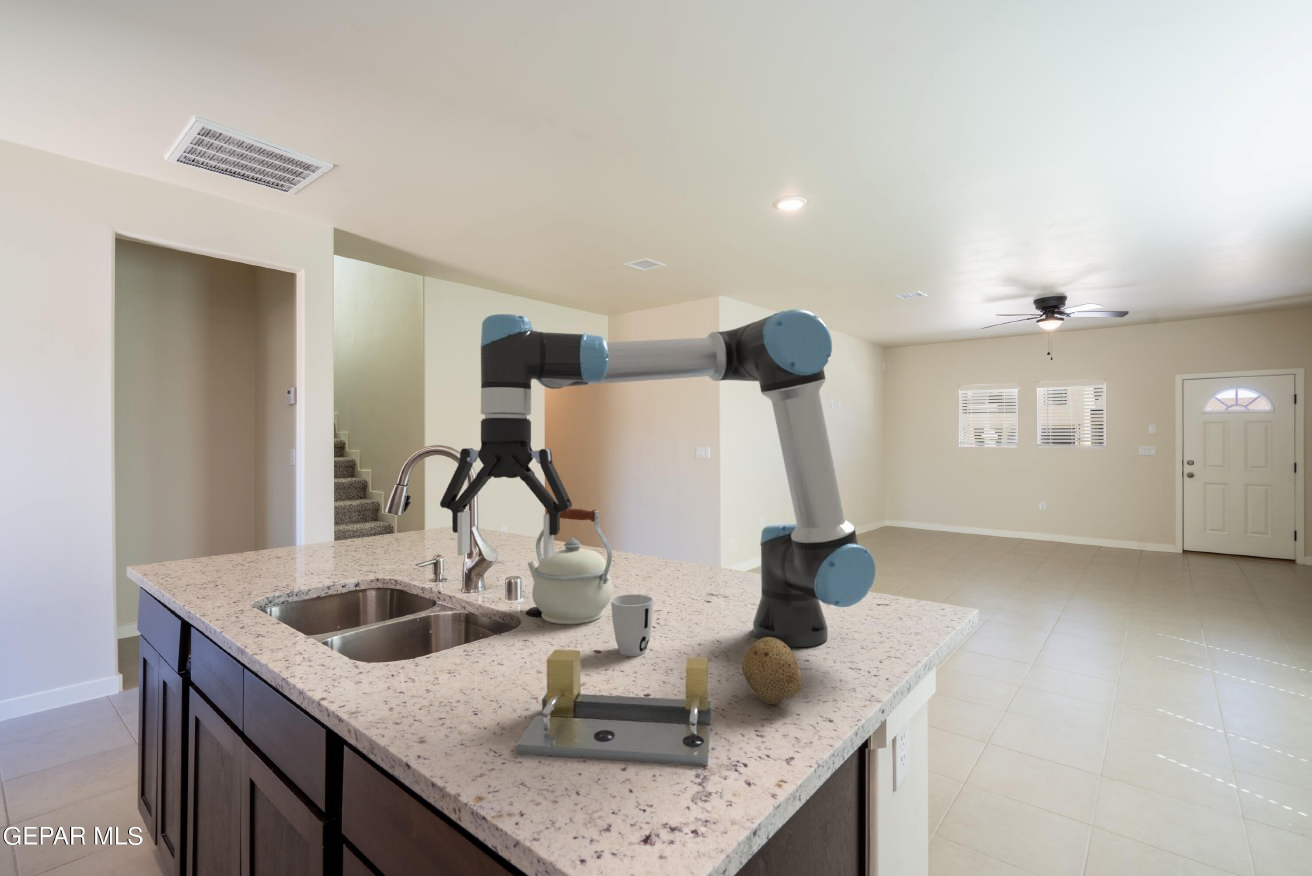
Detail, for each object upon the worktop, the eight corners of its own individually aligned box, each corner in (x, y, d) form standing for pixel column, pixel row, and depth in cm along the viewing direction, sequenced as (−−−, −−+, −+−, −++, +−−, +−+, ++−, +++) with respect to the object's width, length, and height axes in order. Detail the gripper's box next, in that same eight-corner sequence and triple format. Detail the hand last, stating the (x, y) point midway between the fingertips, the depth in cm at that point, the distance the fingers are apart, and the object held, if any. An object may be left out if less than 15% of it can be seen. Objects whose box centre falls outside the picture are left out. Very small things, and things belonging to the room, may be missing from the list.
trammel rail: (711, 714, 89) (711, 658, 89) (708, 753, 79) (708, 689, 79) (548, 705, 93) (548, 651, 93) (524, 741, 82) (523, 680, 82)
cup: (648, 660, 111) (648, 606, 111) (606, 657, 113) (606, 604, 113) (657, 645, 119) (657, 595, 119) (617, 642, 121) (617, 593, 121)
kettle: (634, 612, 141) (633, 506, 141) (584, 634, 126) (583, 515, 125) (553, 597, 154) (553, 501, 154) (500, 615, 139) (499, 508, 139)
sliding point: (580, 703, 92) (580, 649, 92) (559, 740, 81) (559, 679, 81) (555, 701, 93) (555, 648, 93) (531, 738, 82) (531, 678, 82)
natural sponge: (738, 688, 98) (738, 628, 98) (793, 689, 98) (793, 628, 98) (745, 714, 89) (744, 647, 89) (805, 715, 89) (805, 648, 89)
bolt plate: (709, 734, 84) (709, 725, 84) (707, 765, 76) (707, 755, 76) (536, 724, 87) (536, 715, 87) (516, 753, 79) (516, 743, 79)
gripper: (591, 418, 94) (590, 552, 95) (441, 418, 98) (440, 548, 98) (578, 416, 87) (578, 562, 87) (417, 416, 90) (416, 557, 90)
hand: (505, 555), depth 92 cm, fingers open, 13 cm apart
